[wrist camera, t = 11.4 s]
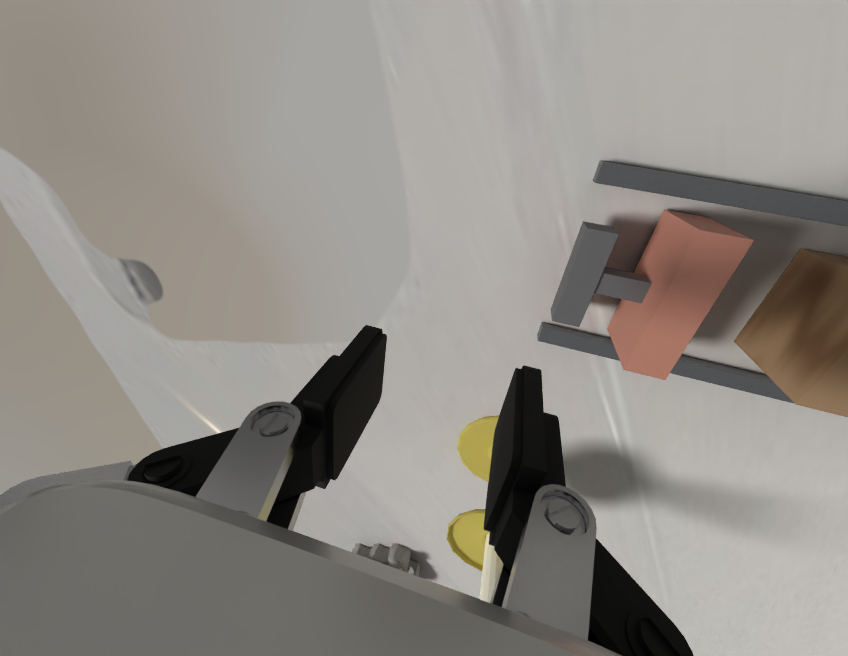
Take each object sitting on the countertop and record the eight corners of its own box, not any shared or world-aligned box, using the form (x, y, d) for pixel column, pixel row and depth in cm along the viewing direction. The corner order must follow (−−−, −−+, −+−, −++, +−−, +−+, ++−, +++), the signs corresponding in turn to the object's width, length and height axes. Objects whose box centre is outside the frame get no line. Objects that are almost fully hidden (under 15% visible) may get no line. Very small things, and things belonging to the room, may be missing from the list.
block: (800, 248, 22) (901, 291, 16) (892, 265, 21) (1035, 318, 15) (733, 340, 25) (795, 404, 19) (810, 358, 25) (899, 429, 19)
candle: (483, 490, 40) (424, 961, 17) (441, 427, 37) (302, 902, 14) (571, 477, 36) (648, 1086, 13) (532, 404, 33) (542, 1038, 10)
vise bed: (599, 160, 22) (619, 168, 17) (1143, 249, 18) (1356, 290, 13) (537, 334, 29) (539, 373, 24) (921, 427, 25) (1011, 495, 20)
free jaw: (586, 195, 23) (601, 212, 18) (706, 216, 22) (754, 240, 17) (544, 313, 28) (547, 350, 23) (641, 336, 27) (665, 380, 22)
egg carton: (408, 541, 50) (399, 571, 46) (427, 572, 53) (420, 603, 49) (347, 539, 54) (335, 567, 50) (367, 568, 57) (357, 596, 53)
